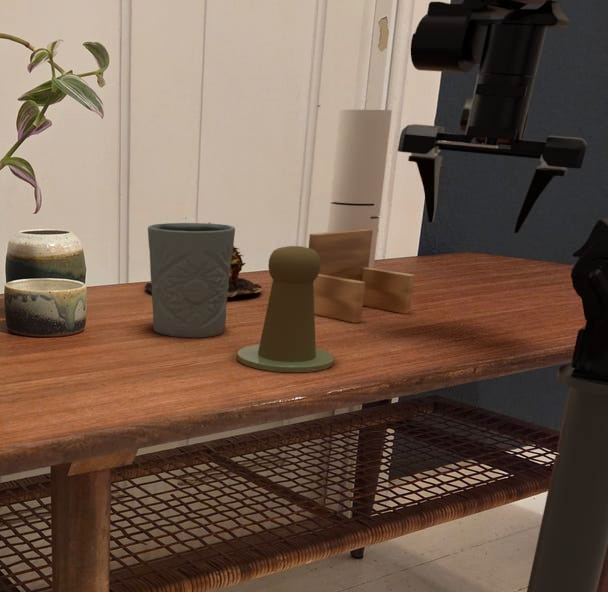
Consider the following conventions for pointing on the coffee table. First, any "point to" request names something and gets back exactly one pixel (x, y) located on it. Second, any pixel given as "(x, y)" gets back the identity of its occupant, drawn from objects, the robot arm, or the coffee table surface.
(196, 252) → the grey embossed cup
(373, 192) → the cylindrical container
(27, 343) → the coffee table surface
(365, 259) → the rack
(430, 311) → the coffee table surface
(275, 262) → the olive tapered shaker
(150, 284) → the cactus
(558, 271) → the coffee table surface
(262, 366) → the coaster
